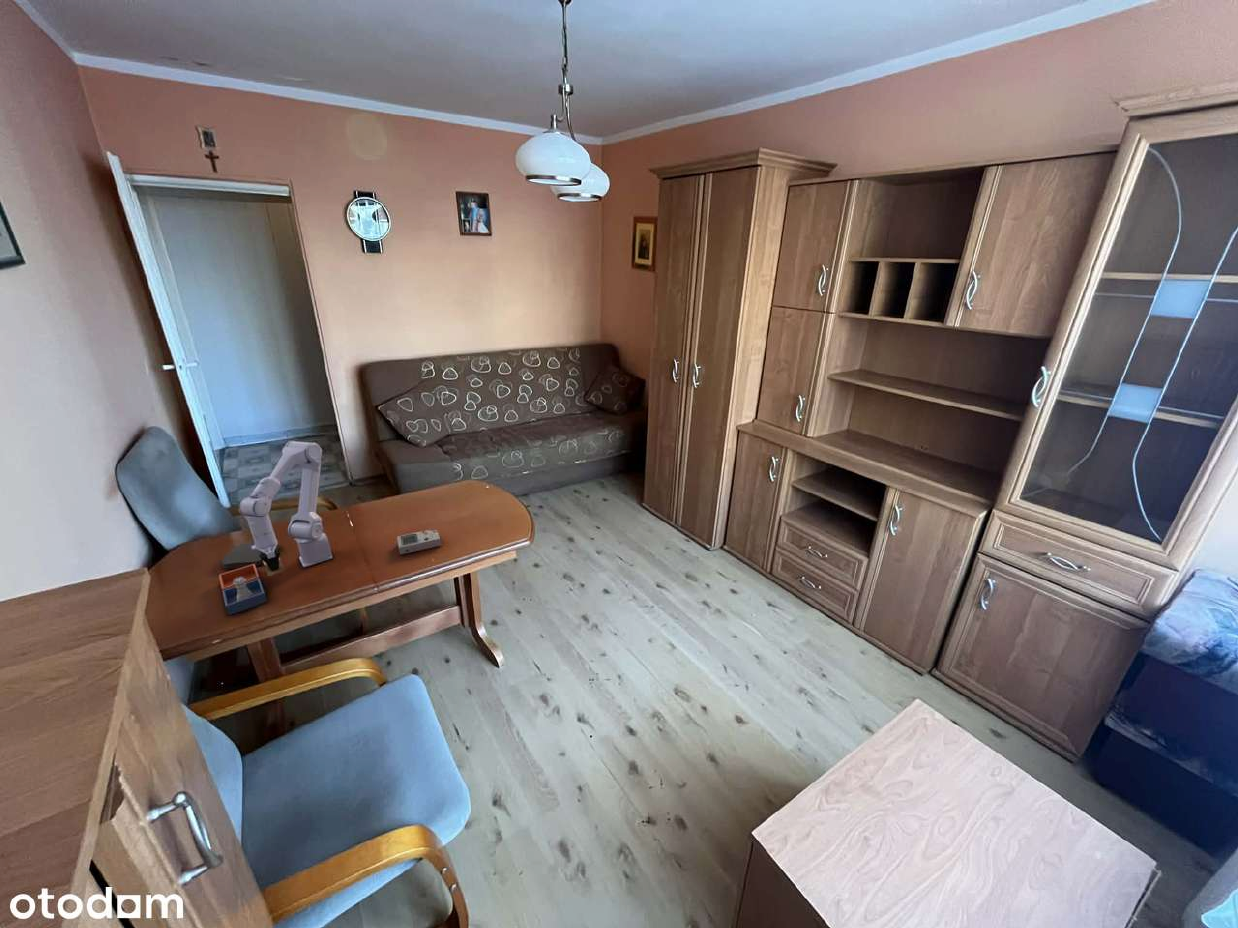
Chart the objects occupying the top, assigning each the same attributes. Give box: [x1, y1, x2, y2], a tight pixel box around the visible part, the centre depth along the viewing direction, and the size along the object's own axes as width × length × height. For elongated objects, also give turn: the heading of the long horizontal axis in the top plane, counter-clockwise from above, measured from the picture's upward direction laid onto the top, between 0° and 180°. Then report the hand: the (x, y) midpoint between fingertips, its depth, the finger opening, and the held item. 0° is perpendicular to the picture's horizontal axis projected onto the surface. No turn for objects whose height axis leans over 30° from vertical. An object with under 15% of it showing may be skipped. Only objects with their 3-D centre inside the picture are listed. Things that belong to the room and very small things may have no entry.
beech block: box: [263, 556, 285, 577], centre depth 167 cm, size 4×4×4 cm
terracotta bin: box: [218, 564, 260, 591], centre depth 170 cm, size 10×10×4 cm
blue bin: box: [221, 577, 269, 616], centre depth 162 cm, size 10×10×4 cm
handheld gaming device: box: [396, 529, 442, 555], centre depth 193 cm, size 9×15×4 cm, turn 116°
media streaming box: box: [221, 540, 279, 570], centre depth 185 cm, size 15×15×3 cm
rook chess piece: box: [233, 577, 254, 601], centre depth 161 cm, size 4×4×8 cm
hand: (273, 566), depth 167 cm, fingers closed on beech block, 4 cm apart
